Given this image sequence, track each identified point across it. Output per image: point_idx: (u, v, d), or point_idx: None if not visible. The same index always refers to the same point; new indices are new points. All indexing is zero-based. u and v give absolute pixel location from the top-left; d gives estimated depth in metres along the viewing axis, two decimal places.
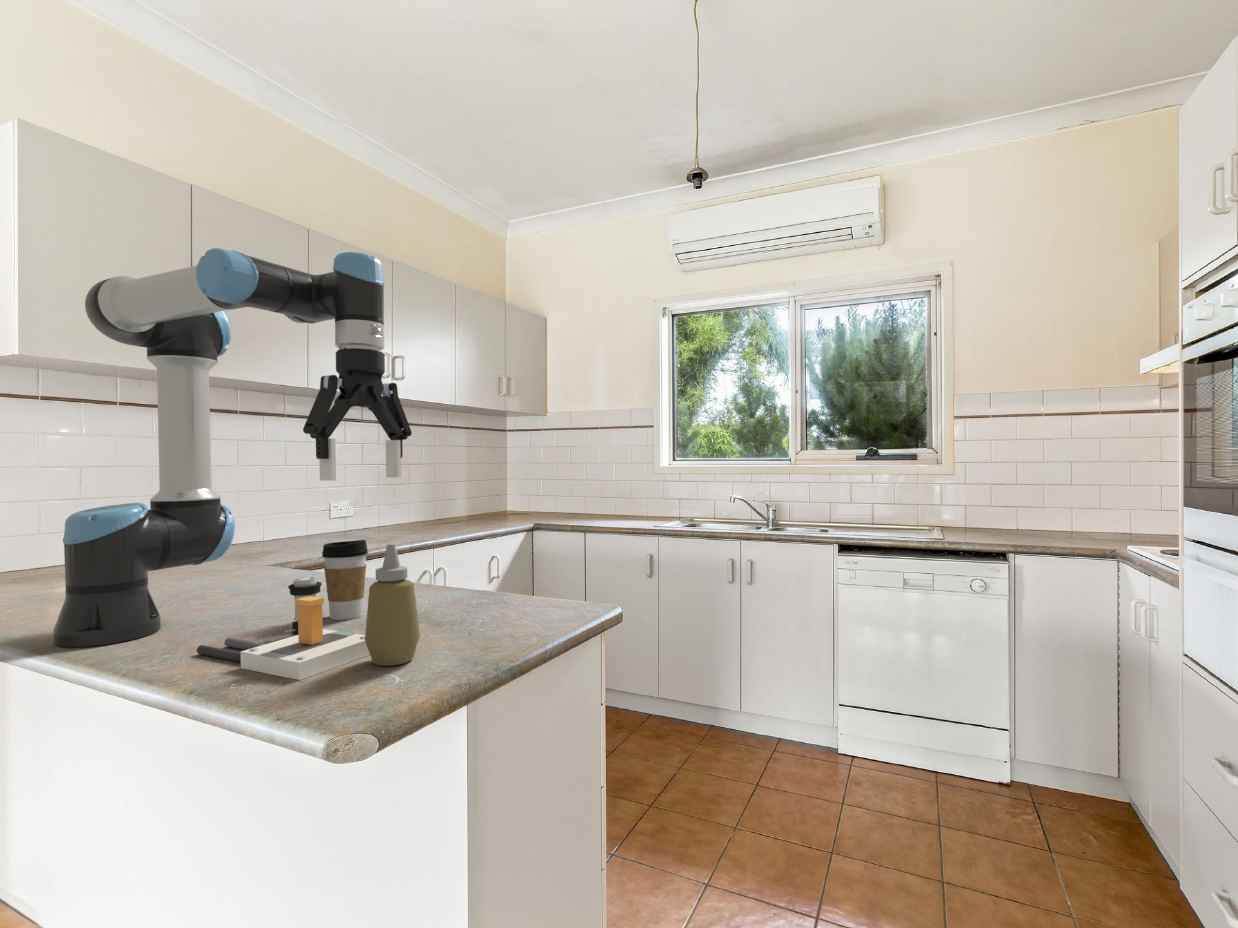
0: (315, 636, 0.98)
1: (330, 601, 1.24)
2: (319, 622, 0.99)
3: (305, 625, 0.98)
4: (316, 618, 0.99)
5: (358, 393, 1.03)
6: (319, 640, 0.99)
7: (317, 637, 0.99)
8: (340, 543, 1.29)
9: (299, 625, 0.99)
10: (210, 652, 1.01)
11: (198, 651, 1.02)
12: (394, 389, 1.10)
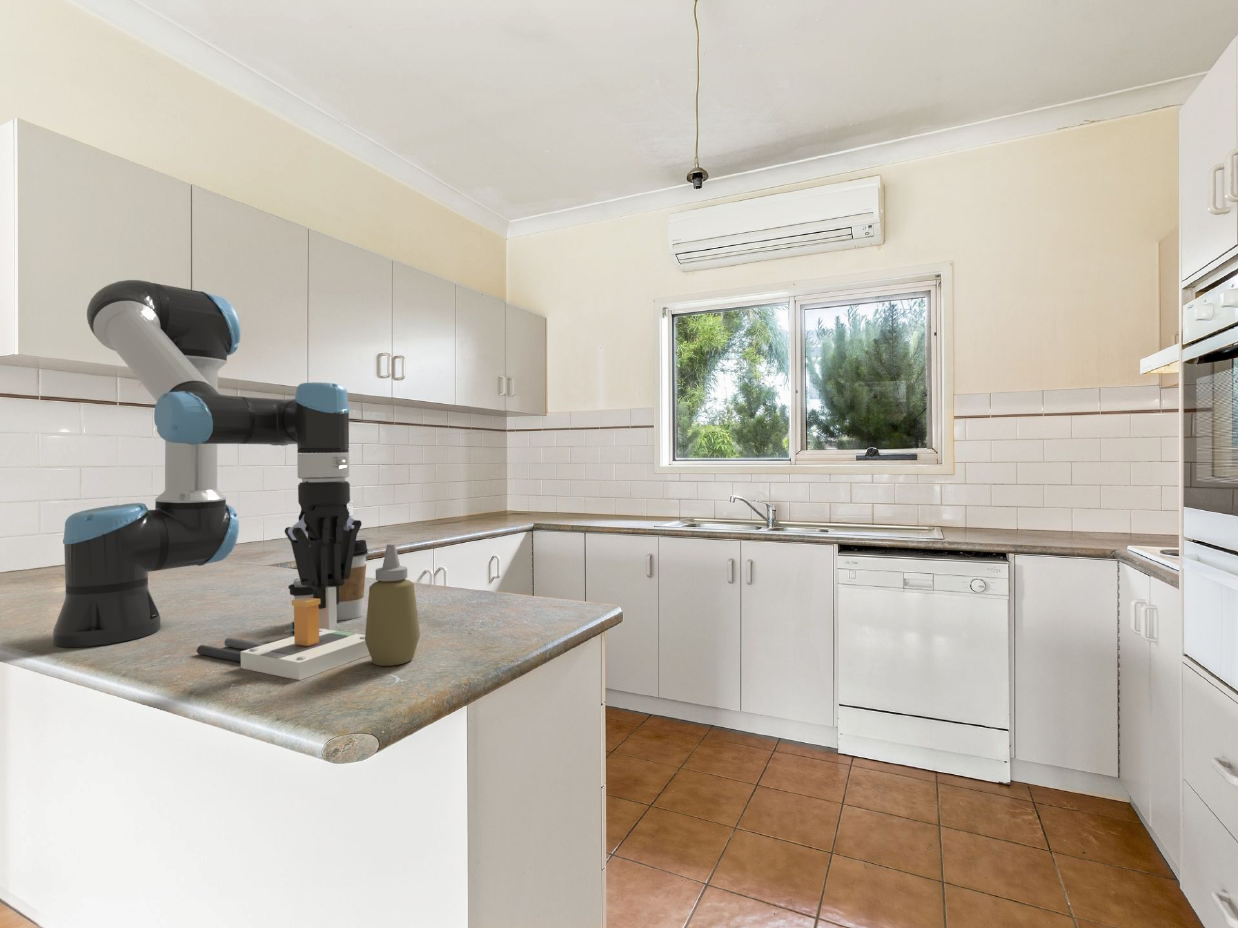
0: (312, 637, 0.98)
1: None
2: (315, 623, 0.98)
3: (301, 626, 0.98)
4: (312, 619, 0.98)
5: (325, 529, 1.00)
6: (315, 641, 0.98)
7: (313, 638, 0.98)
8: None
9: (295, 626, 0.98)
10: (210, 652, 1.01)
11: (198, 651, 1.02)
12: (357, 526, 1.06)
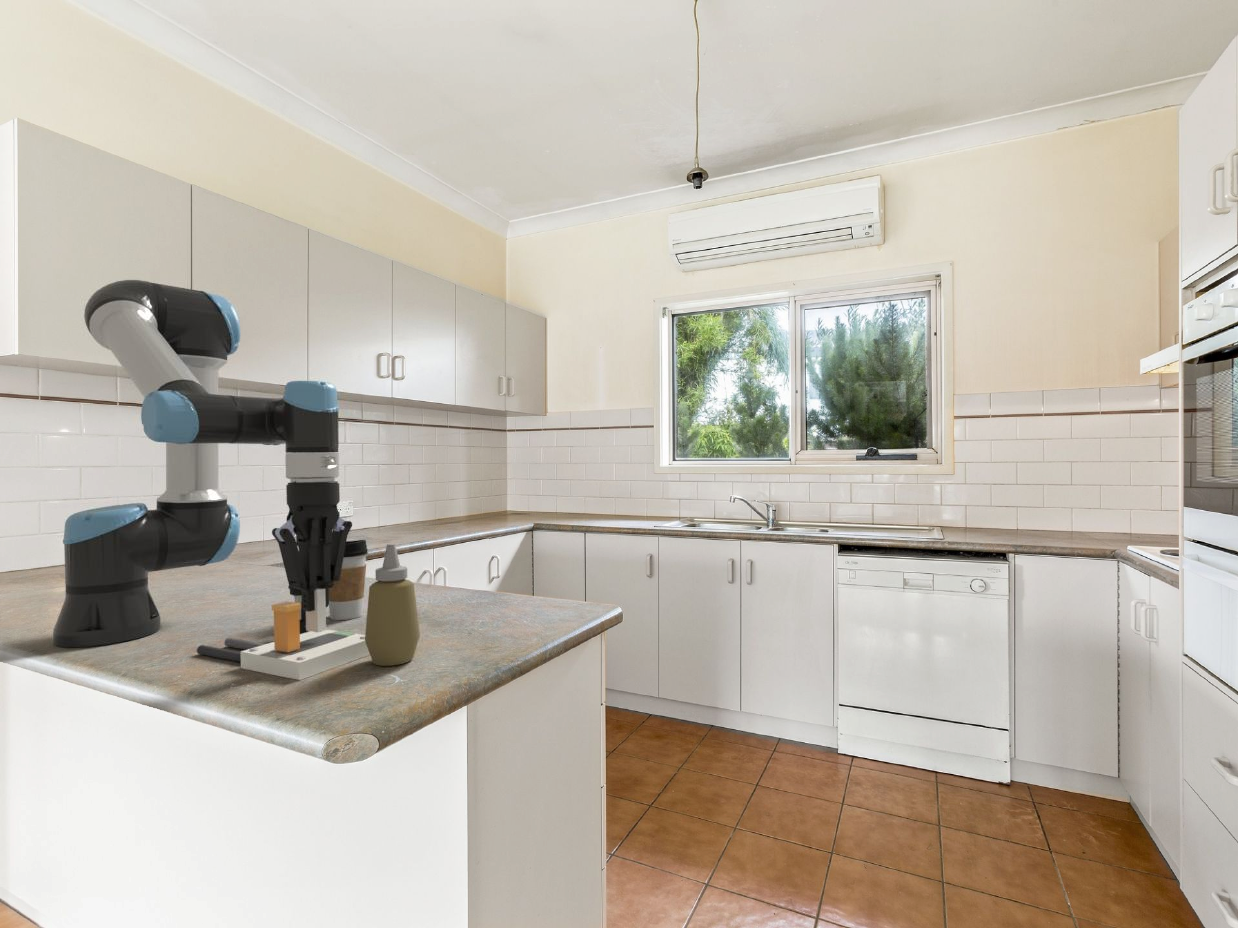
0: (292, 643, 0.95)
1: (330, 601, 1.24)
2: (296, 628, 0.95)
3: (281, 631, 0.95)
4: (293, 624, 0.95)
5: (314, 530, 0.98)
6: (296, 647, 0.95)
7: (294, 644, 0.95)
8: None
9: (275, 631, 0.95)
10: (210, 652, 1.01)
11: (198, 651, 1.02)
12: (347, 527, 1.04)
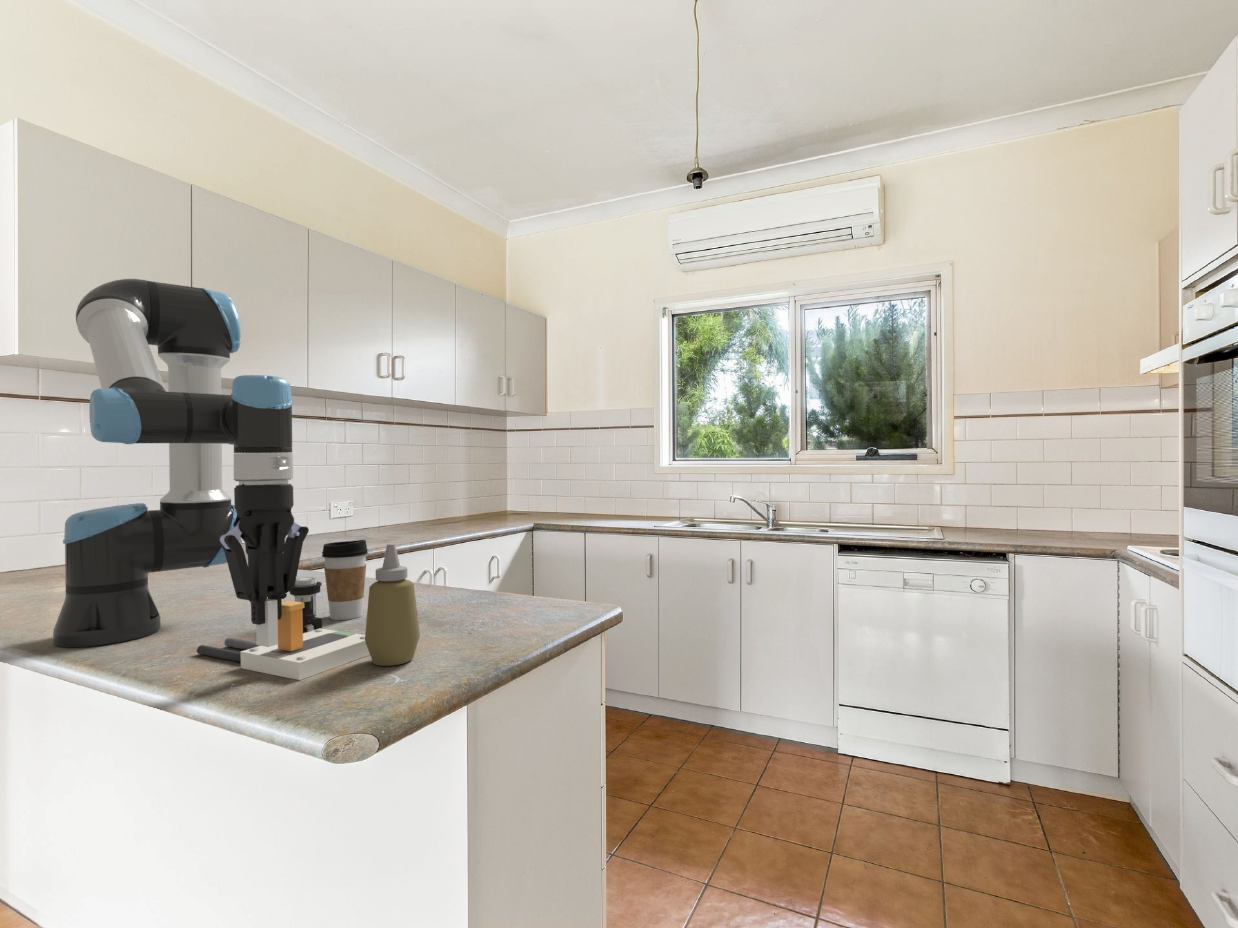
0: (295, 642, 0.95)
1: (330, 601, 1.24)
2: (299, 628, 0.96)
3: (284, 630, 0.95)
4: (296, 623, 0.95)
5: (264, 537, 0.91)
6: (299, 646, 0.96)
7: (297, 643, 0.95)
8: (340, 543, 1.29)
9: (279, 630, 0.96)
10: (210, 652, 1.01)
11: (198, 651, 1.02)
12: (303, 533, 0.97)
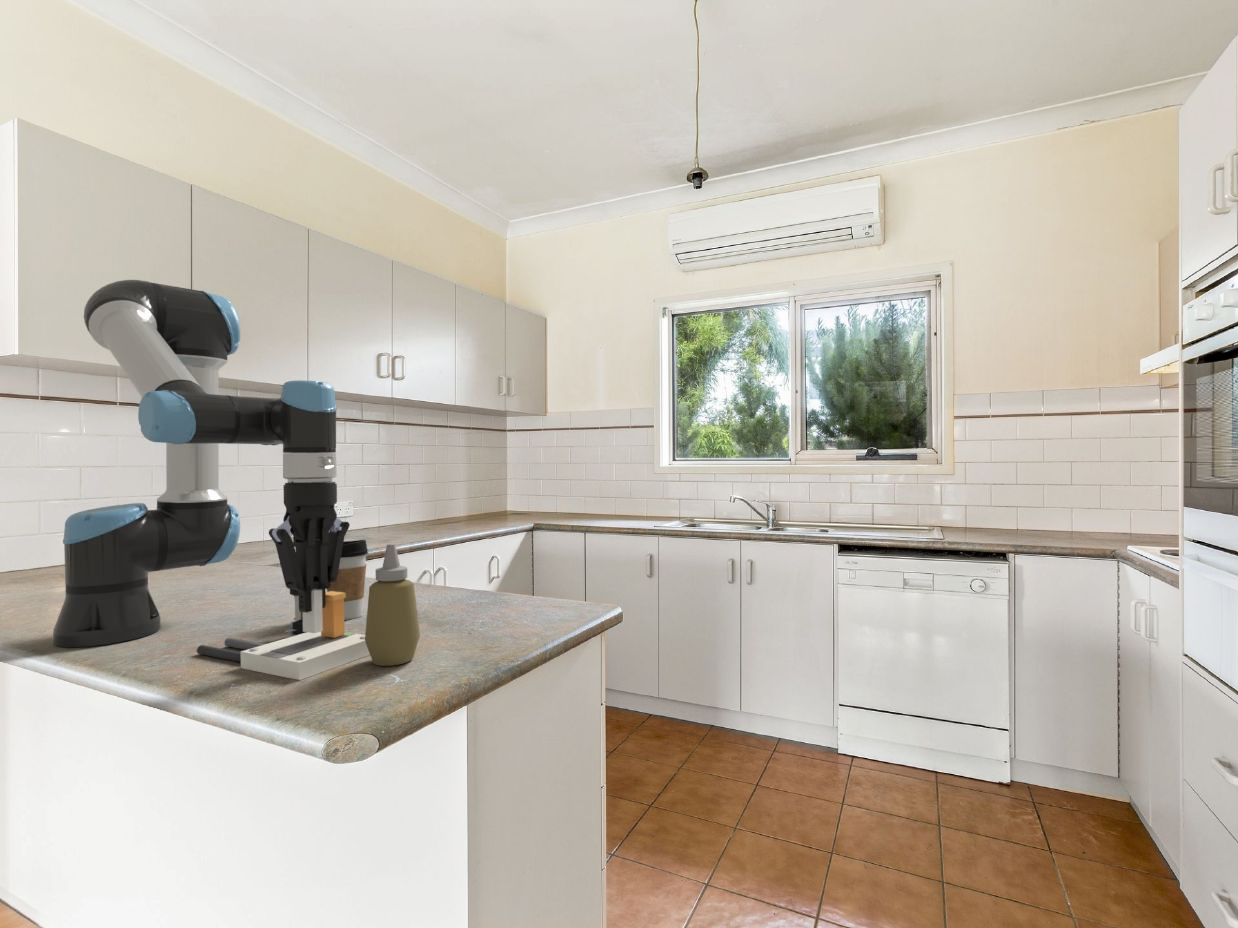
0: (338, 629, 1.02)
1: None
2: (341, 616, 1.03)
3: (327, 618, 1.02)
4: (338, 612, 1.02)
5: (311, 531, 0.98)
6: (341, 633, 1.03)
7: (339, 630, 1.02)
8: None
9: (322, 618, 1.03)
10: (210, 652, 1.01)
11: (198, 651, 1.02)
12: (344, 528, 1.04)
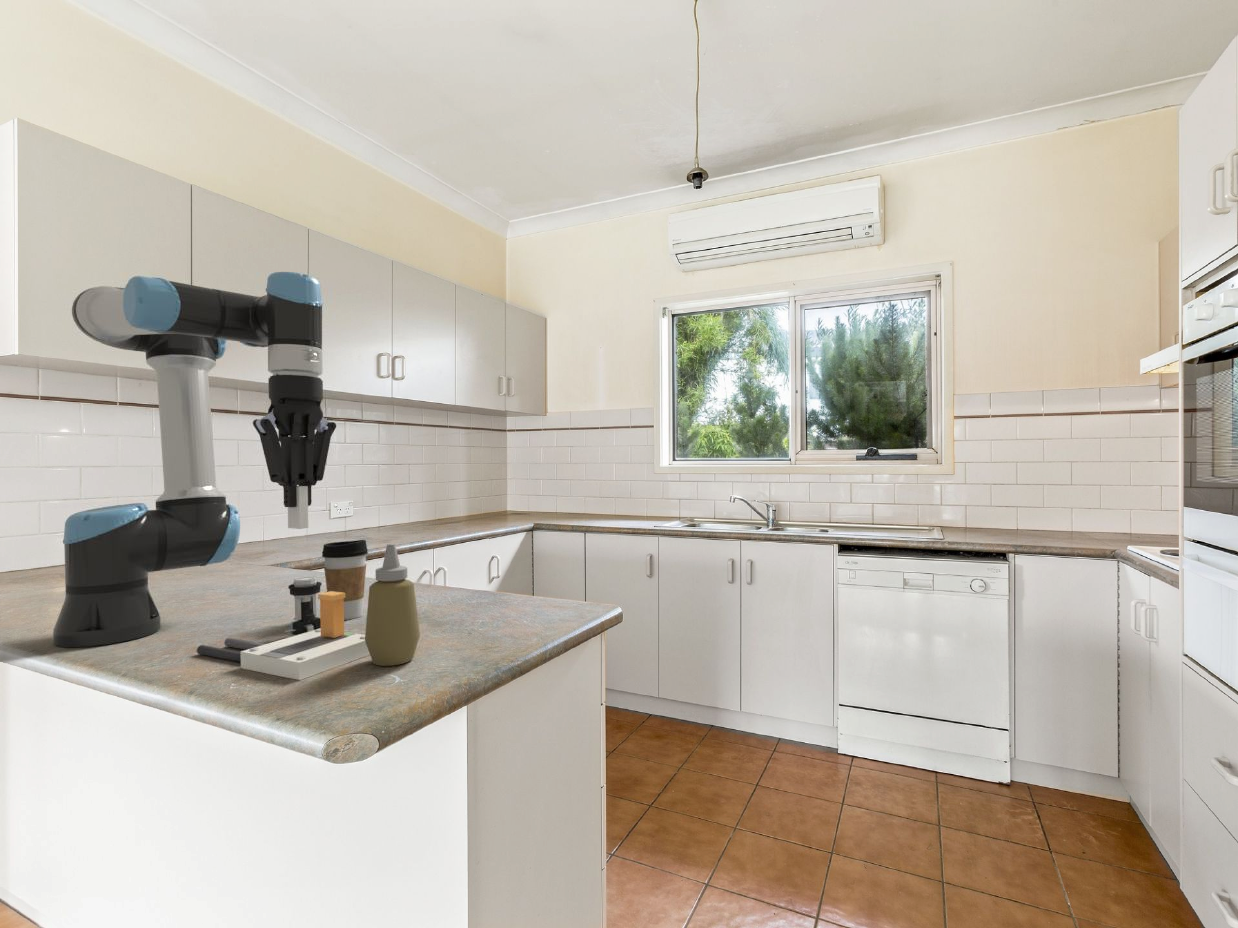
0: (337, 629, 1.02)
1: None
2: (341, 616, 1.03)
3: (327, 618, 1.02)
4: (338, 612, 1.02)
5: (296, 425, 0.97)
6: (341, 633, 1.03)
7: (339, 630, 1.02)
8: (340, 543, 1.29)
9: (321, 619, 1.02)
10: (210, 652, 1.01)
11: (198, 651, 1.02)
12: (331, 428, 1.03)
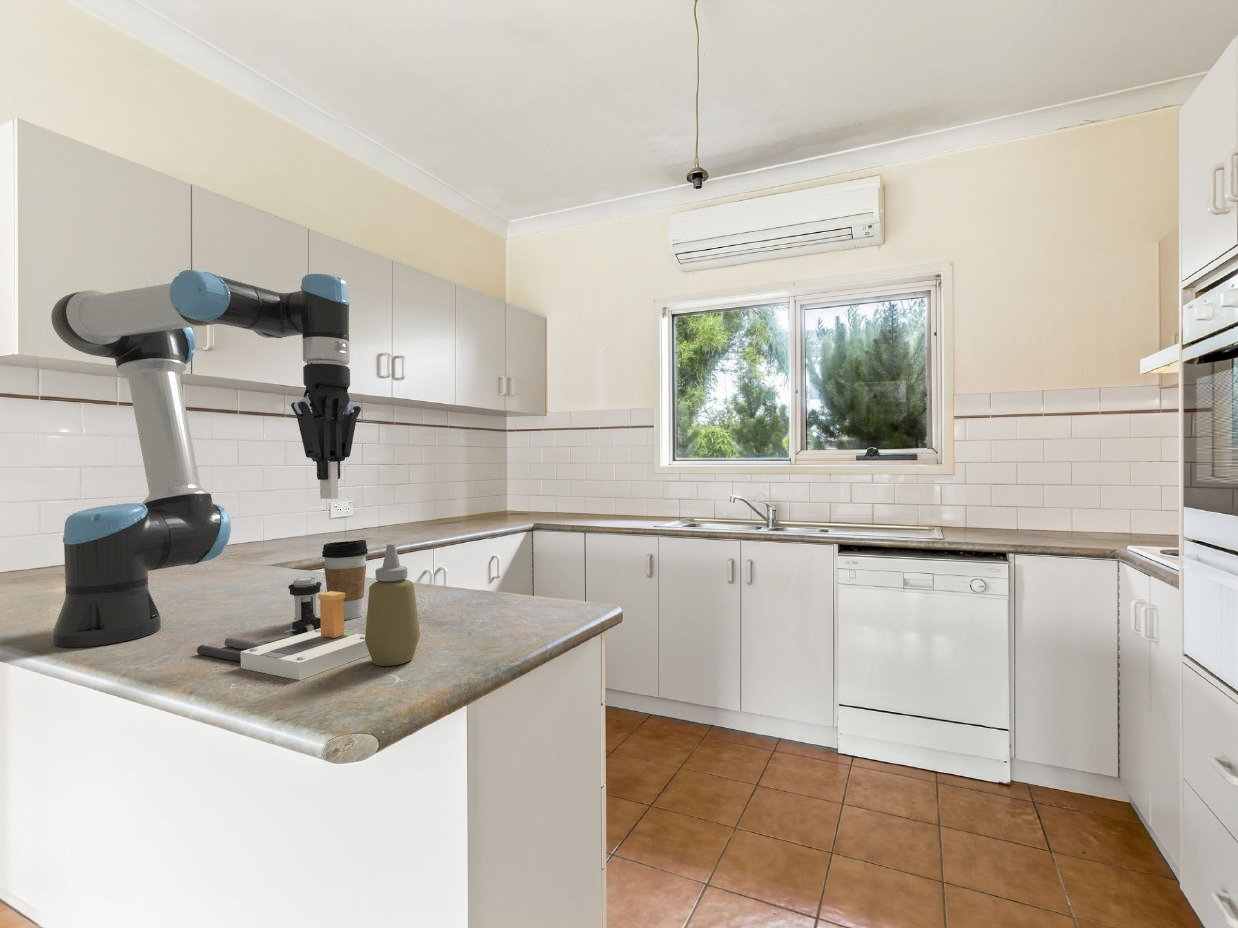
0: (337, 629, 1.02)
1: None
2: (341, 616, 1.03)
3: (327, 618, 1.02)
4: (338, 612, 1.02)
5: (328, 407, 1.11)
6: (341, 633, 1.03)
7: (339, 630, 1.02)
8: (340, 543, 1.29)
9: (321, 619, 1.02)
10: (210, 652, 1.01)
11: (198, 651, 1.02)
12: (356, 411, 1.17)
